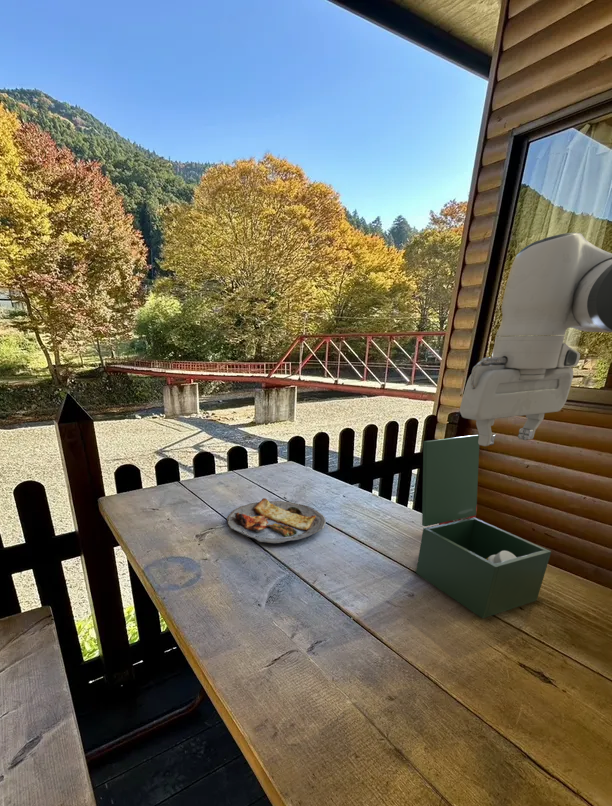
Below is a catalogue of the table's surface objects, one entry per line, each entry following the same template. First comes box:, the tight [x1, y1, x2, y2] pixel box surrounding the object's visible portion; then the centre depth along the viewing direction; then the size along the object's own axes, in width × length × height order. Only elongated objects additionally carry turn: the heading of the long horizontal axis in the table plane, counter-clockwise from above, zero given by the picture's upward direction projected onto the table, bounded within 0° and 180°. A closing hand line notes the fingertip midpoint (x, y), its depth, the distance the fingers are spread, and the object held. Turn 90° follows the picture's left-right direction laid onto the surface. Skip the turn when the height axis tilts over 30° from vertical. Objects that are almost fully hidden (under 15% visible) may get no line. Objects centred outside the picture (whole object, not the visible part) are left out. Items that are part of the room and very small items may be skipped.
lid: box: [421, 434, 480, 527], centre depth 80 cm, size 16×14×1 cm
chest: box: [415, 517, 552, 619], centre depth 77 cm, size 16×14×11 cm
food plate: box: [226, 498, 327, 544], centre depth 106 cm, size 25×23×4 cm
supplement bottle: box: [486, 551, 517, 564], centre depth 75 cm, size 5×5×8 cm
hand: (505, 442), depth 69 cm, fingers open, 8 cm apart
